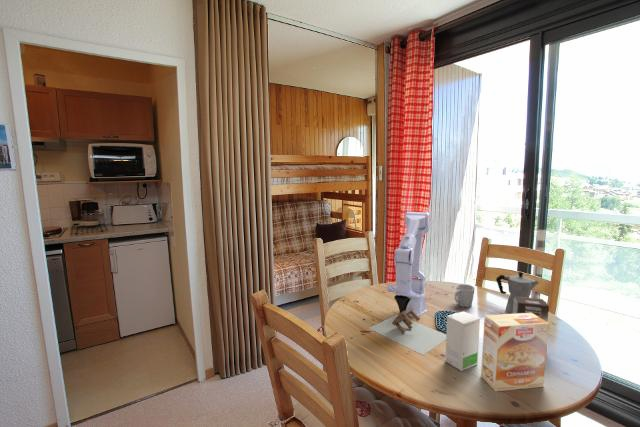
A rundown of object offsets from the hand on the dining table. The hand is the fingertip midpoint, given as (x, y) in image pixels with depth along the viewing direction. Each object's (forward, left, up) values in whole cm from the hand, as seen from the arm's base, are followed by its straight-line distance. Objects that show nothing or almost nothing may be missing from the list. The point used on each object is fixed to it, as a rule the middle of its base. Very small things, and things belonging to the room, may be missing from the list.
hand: (402, 313), depth 120 cm
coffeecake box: (+1, +39, -7) cm, 39 cm away
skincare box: (+3, +25, -7) cm, 26 cm away
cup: (-39, +5, -7) cm, 40 cm away
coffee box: (-25, +35, -7) cm, 43 cm away
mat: (0, +3, -7) cm, 7 cm away
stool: (0, 0, -5) cm, 5 cm away
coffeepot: (-49, +23, -7) cm, 55 cm away
